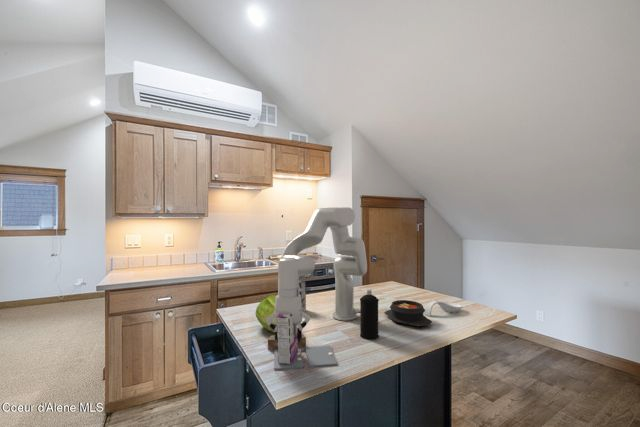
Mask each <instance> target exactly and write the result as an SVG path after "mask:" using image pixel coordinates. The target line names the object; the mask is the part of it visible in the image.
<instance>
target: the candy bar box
mask: <svg viewBox="0 0 640 427" xmlns="http://www.w3.org/2000/svg"><path fill="white" fill-rule="evenodd" d="M297 328H298V326H297V324H293V319H292V314H284V315H278V316H277V338H278V363H279V364H291V363H292V361H293V359H294V357H295V355H296V353H297V351H298V339H297Z"/></svg>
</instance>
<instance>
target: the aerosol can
mask: <svg viewBox="0 0 640 427" xmlns="http://www.w3.org/2000/svg"><path fill="white" fill-rule="evenodd" d="M372 291H373V290H372V289H366V294H364V295H363V296H361V297H360V299H359V302H360V304H359V305H360V308H359V309H360V313H359V314H360V316H359V317H360V319H359V320H360V322H359V324H360V328H359V329H360V332H359V333H360V334H359V336H360V338H361V339H365V340H369V341H373V340H377V339H379V337H380V335H379V302H380V300H379V299H378V297H376V295H374V294H372Z"/></svg>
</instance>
